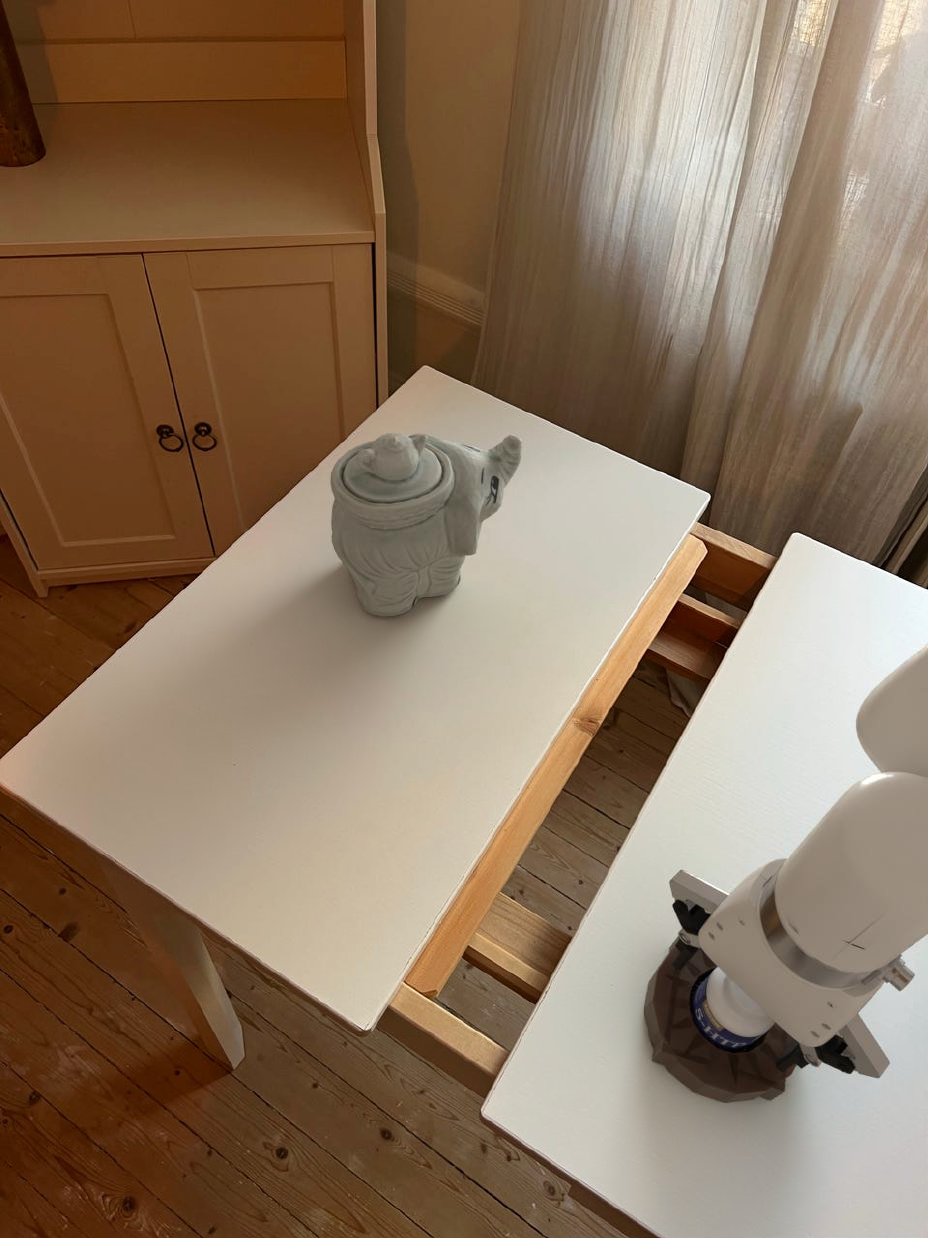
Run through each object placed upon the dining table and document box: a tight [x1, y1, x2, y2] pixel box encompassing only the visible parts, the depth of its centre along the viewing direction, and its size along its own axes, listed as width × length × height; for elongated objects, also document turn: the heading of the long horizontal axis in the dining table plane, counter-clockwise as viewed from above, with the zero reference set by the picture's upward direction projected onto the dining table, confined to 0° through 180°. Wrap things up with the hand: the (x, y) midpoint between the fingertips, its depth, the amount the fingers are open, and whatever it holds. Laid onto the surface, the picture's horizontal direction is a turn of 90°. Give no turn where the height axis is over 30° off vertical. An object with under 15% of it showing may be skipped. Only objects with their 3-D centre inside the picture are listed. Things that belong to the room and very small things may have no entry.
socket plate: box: [643, 934, 797, 1104], centre depth 72 cm, size 11×11×3 cm
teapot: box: [329, 432, 523, 617], centre depth 91 cm, size 16×15×19 cm
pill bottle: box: [689, 967, 775, 1053], centre depth 70 cm, size 5×5×9 cm
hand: (737, 1002), depth 70 cm, fingers open, 9 cm apart
